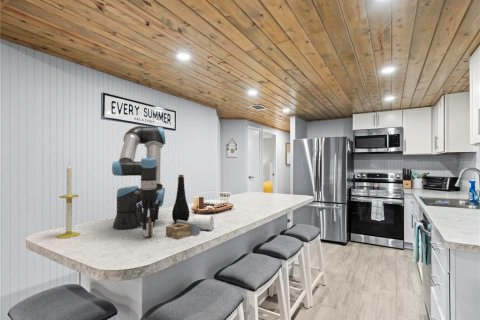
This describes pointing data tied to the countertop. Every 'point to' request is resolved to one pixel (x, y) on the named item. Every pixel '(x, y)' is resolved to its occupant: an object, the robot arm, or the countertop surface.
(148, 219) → the dowel
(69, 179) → the candle
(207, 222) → the mug
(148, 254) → the countertop surface
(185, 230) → the block
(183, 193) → the bottle
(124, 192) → the robot arm
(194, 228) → the backstop wall
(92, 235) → the countertop surface
